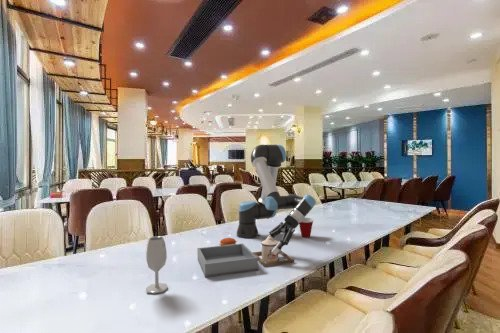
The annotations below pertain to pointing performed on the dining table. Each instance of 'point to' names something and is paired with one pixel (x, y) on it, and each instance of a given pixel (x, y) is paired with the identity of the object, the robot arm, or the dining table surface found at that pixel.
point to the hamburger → (227, 241)
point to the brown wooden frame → (289, 260)
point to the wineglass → (156, 262)
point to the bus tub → (226, 260)
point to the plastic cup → (306, 227)
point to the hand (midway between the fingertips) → (268, 249)
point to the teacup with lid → (269, 250)
